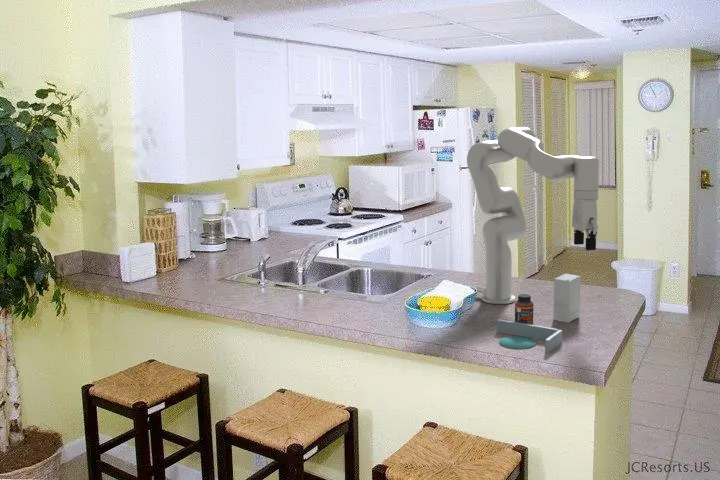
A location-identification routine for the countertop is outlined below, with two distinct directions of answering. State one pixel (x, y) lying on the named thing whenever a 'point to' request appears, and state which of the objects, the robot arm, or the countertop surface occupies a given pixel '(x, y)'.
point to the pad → (517, 342)
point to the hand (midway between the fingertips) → (584, 247)
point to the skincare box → (566, 297)
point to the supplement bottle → (524, 309)
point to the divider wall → (532, 332)
